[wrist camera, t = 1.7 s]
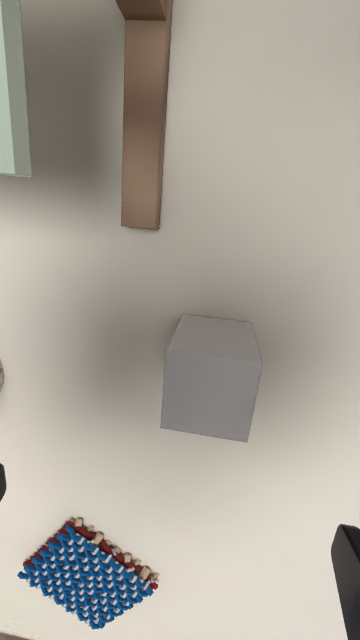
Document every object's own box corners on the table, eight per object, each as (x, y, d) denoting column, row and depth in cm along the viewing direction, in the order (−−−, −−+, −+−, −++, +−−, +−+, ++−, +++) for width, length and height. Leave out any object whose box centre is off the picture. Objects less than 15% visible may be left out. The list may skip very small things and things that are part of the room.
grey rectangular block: (251, 322, 19) (262, 362, 14) (241, 382, 21) (247, 442, 15) (183, 313, 20) (166, 349, 14) (177, 373, 21) (160, 427, 16)
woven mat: (105, 613, 32) (98, 638, 30) (25, 557, 31) (12, 579, 29) (165, 571, 28) (161, 596, 27) (78, 506, 28) (66, 527, 26)
